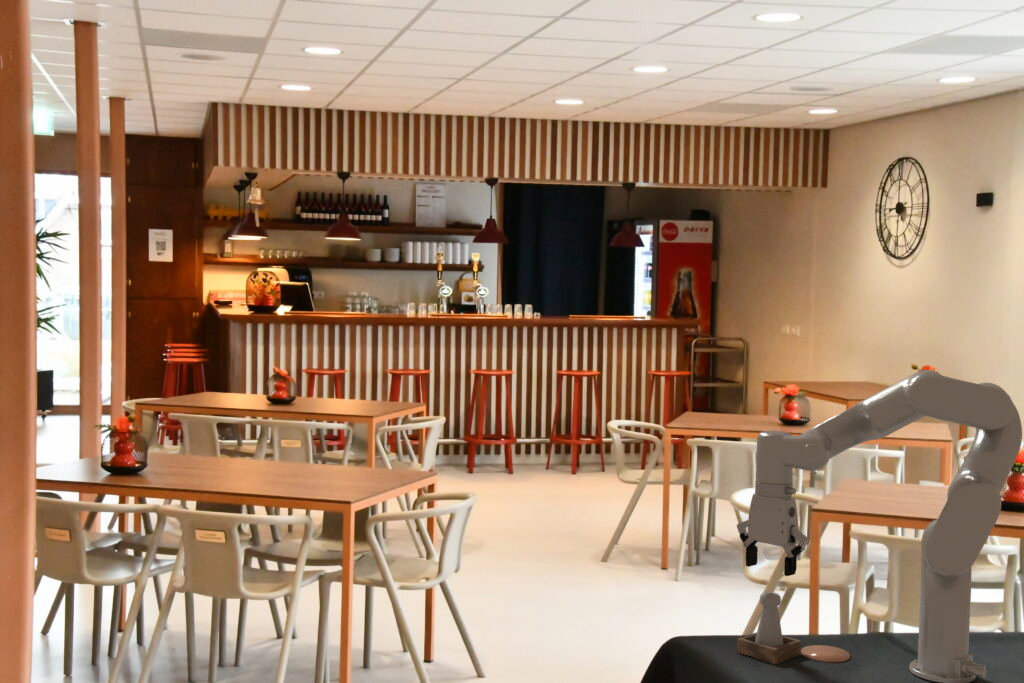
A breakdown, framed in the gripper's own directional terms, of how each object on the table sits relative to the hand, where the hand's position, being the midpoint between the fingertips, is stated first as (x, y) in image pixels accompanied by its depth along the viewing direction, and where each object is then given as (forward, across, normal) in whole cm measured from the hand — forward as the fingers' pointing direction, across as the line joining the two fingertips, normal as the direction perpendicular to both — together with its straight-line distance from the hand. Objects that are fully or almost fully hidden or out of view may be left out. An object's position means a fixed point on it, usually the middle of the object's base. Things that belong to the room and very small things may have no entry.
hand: (770, 570), depth 241 cm
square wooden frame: (+18, 0, 0) cm, 18 cm away
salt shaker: (+18, 0, 0) cm, 18 cm away
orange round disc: (+18, -8, -9) cm, 22 cm away
